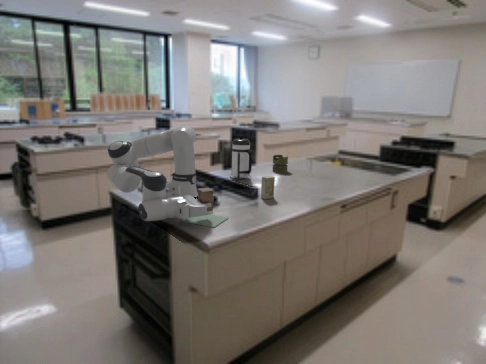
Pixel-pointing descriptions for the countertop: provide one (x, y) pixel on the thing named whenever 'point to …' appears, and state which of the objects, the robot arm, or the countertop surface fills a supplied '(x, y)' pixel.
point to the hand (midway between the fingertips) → (207, 202)
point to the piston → (280, 164)
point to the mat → (206, 220)
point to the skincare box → (267, 187)
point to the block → (206, 198)
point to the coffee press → (241, 158)
